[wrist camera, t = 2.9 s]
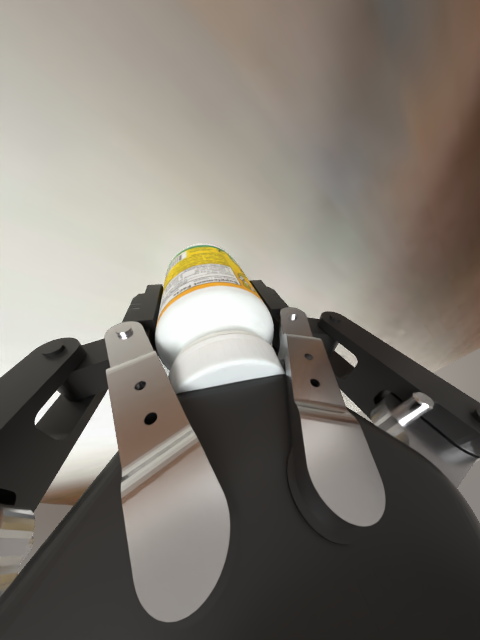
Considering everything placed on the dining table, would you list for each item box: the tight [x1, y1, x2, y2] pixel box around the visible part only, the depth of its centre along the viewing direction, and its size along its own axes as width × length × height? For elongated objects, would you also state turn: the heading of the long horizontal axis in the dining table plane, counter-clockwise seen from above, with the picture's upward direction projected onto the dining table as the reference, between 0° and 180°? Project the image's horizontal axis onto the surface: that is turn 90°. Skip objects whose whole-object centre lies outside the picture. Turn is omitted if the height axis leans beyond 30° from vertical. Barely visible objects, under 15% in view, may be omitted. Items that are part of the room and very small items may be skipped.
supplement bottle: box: [155, 243, 285, 394], centre depth 9 cm, size 5×5×10 cm
